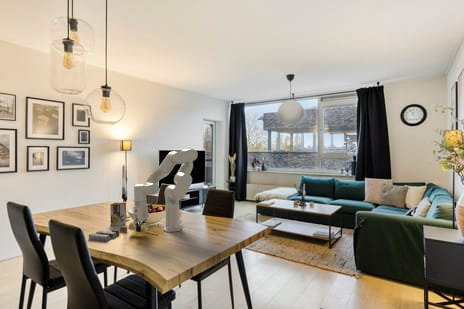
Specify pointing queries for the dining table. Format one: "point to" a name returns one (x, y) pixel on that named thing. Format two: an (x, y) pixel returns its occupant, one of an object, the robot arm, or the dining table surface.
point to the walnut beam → (122, 229)
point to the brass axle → (143, 226)
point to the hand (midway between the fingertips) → (141, 230)
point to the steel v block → (102, 236)
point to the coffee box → (118, 214)
